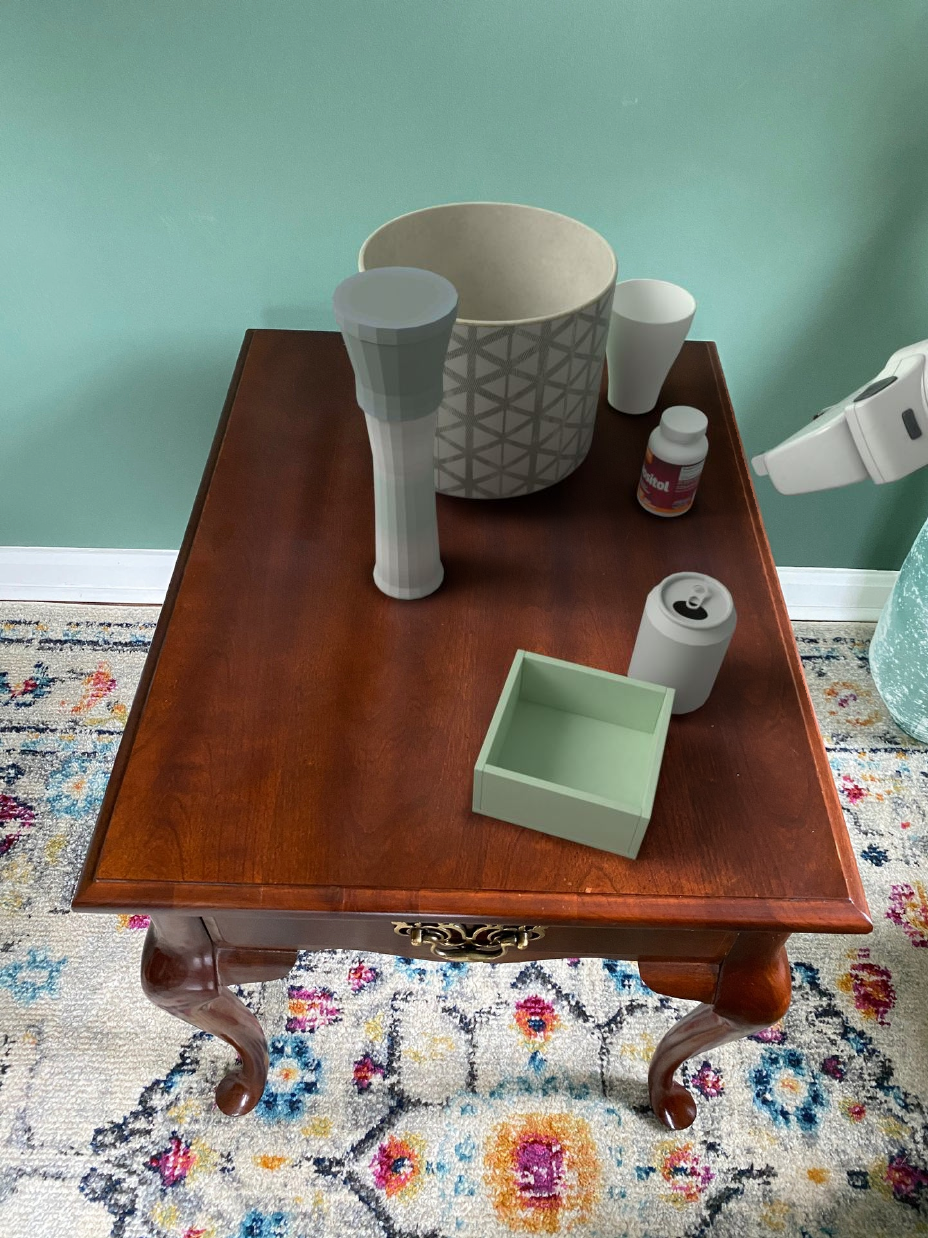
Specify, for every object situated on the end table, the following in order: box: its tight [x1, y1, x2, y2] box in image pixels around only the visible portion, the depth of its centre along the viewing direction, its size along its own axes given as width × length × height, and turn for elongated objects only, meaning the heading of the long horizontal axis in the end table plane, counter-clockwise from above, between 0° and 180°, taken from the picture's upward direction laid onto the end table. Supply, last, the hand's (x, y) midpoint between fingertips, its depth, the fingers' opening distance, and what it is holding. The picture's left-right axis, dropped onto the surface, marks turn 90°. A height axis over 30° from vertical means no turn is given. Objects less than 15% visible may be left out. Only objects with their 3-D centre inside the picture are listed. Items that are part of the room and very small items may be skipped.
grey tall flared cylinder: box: [331, 267, 458, 601], centre depth 76 cm, size 10×10×30 cm
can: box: [626, 571, 738, 715], centre depth 74 cm, size 8×8×12 cm
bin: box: [472, 648, 676, 860], centre depth 70 cm, size 13×12×7 cm
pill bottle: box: [636, 405, 709, 518], centre depth 92 cm, size 6×6×11 cm
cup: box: [605, 278, 697, 415], centre depth 103 cm, size 10×10×14 cm
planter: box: [358, 201, 619, 500], centre depth 92 cm, size 25×25×24 cm
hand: (789, 442), depth 77 cm, fingers open, 8 cm apart
